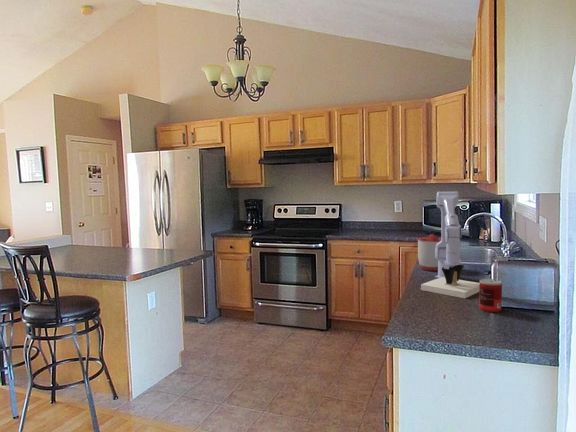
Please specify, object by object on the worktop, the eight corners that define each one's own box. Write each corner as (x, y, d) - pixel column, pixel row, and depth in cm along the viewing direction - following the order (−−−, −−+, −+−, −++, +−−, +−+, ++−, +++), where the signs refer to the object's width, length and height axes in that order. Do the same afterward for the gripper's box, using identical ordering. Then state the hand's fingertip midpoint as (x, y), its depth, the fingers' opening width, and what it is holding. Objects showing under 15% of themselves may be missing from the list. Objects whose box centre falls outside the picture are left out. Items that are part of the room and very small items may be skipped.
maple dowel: (449, 287, 185) (449, 270, 185) (458, 289, 182) (458, 272, 182) (445, 289, 183) (445, 272, 182) (454, 291, 180) (454, 273, 179)
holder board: (441, 281, 196) (441, 276, 196) (484, 289, 182) (484, 283, 182) (420, 289, 183) (420, 284, 183) (465, 298, 168) (465, 292, 168)
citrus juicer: (449, 267, 230) (449, 232, 228) (444, 273, 215) (444, 236, 213) (421, 264, 238) (421, 231, 236) (414, 270, 223) (414, 234, 221)
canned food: (498, 307, 156) (499, 279, 155) (503, 313, 148) (504, 284, 148) (477, 305, 158) (477, 278, 157) (481, 312, 150) (481, 283, 150)
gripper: (450, 249, 189) (450, 277, 190) (437, 253, 179) (437, 283, 180) (466, 250, 184) (465, 280, 185) (453, 255, 174) (452, 286, 175)
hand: (452, 282), depth 182 cm, fingers open, 7 cm apart
